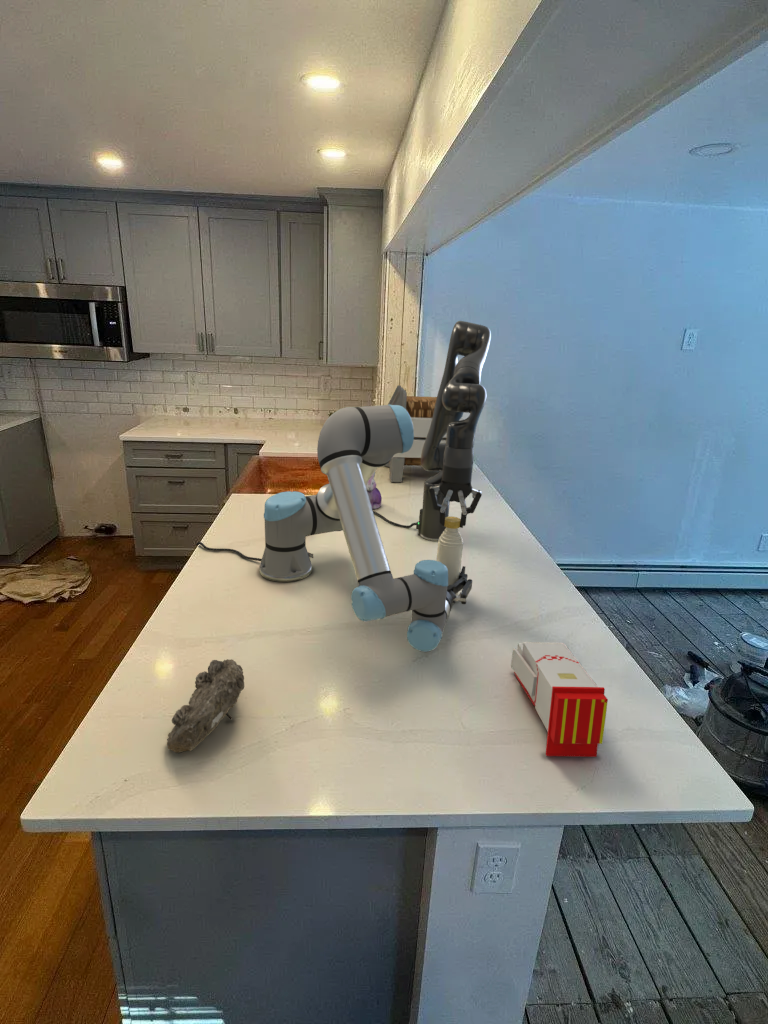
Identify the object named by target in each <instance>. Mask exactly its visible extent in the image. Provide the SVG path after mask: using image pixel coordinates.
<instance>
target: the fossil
mask: <svg viewBox="0 0 768 1024" xmlns="http://www.w3.org/2000/svg"><path fill="white" fill-rule="evenodd" d="M243 670H244V669H243V667H242V665H240V664H237V662H236V661H235V660H234V659H232V658H231V659H227V658H226V659H224V660H223V661H222V660H217V659H212V660H211V661H210V663H209V665H208V666H207V671H201V672H199V673H198V674H197V675H196V676H195V680H194V684H195V685H194V687H195V689H194V690H193V693H192V694H191V697H190V698H189V700H188V704H184V705H182V706H181V707H180V709H177V710H176V711H175V713H174V715H173V716H172V718H171V723H172V724H173V727H172V730H171V731H170V732H168V734H167V738H166V741H167V742H166V745H167V749H168V750H169V751H173V752H174V753H176V754H178V753H182V752H188V751H189V752H192V751H193V750H195V748H196V747H197V746H199V744H200V743H201V742H203V741H204V740H205V739H206V738H207V737H208V736H209V735H210V734H211V733H212V732H214V730H215V729H217V727H218V726H219V724H220V722H221V721H222V720H223V719H224V718H225V716H226V717H227V719H229V720H233V717H232V715H230V714H229V710H230V709H231V708H234V706H235V704H236V703H237V702H238V699H239V697H240V695H241V693H242V691H243V690H245V689H244V688H245V675H244V671H243Z"/></svg>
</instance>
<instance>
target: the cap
mask: <svg viewBox="0 0 768 1024" xmlns="http://www.w3.org/2000/svg"><path fill="white" fill-rule="evenodd" d="M460 523H461V517H457V516H448V517H446V518H445V524H444V526H445V527H447V528H451V529H457V528H458V529H459V528H460ZM460 529H461V528H460Z"/></svg>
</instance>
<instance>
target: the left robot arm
mask: <svg viewBox="0 0 768 1024" xmlns="http://www.w3.org/2000/svg"><path fill="white" fill-rule="evenodd" d="M413 440H414V429H413V423H412V420H411V417H410V415H409V413H408V412H407V410H406V409H405V408H404V407H402V406H399V405H390V404H381V405H368V406H367V405H365V406H346V407H343V408H339V409H338V410H336V411H334V412H333V413H332V414H330V416H328V417H327V419H326V420H325V422H324V423H323V425H322V427H321V429H320V432H319V435H318V440H317V448H316V452H317V460H318V465H319V467H320V472H321V473H322V474H324V475H326V477H327V480H328V483H326V484H324V485H323V486H321V487H320V488H319V489H318V491H317V493H316V494H312V495H305V494H304V493H303V492H301V491H297V490H295V491H294V490H293V491H290V490H289V491H282V492H277V493H275V494H273V495H271V496H270V497H268V498H267V499H266V501H265V502H264V510H263V511H264V512H263V519H264V520H263V521H264V543H265V545H264V546H265V547H264V551H263V554H262V556H261V558H258V557H253V556H247V555H246V554H245V555H244V553H242V552H240V551H238V550H236V549H233V548H213V547H208V546H207V545H205V544H204V543H203V542H202V541H198V542H196V543H195V546H199V545H200V547H202V548H203V549H205V550H208V551H212V552H232V553H236V554H237V555H238V556H240V557H241V558H243V559H245V560H249V561H257V562H259V575H260V576H261V577H263V578H264V579H265V580H269V581H272V582H277V583H290V582H296V581H300V580H303V579H305V578H307V577H309V576H310V575H311V574H312V571H313V564H312V560H311V558H312V559H314V553H311V552H309V551H308V549H307V546H306V545H307V543H306V540H307V537H310V536H314V535H321V534H326V533H328V534H329V533H332V532H343V535H344V538H345V542H346V545H347V549H348V553H349V557H350V559H351V563H352V566H353V570H354V573H355V576H356V580H357V584H358V586H357V587H354V588H353V589H352V592H351V596H350V599H351V608H352V611H353V613H354V615H355V616H356V617H357V619H359V621H361V622H371V621H372V622H373V621H376V620H383V619H385V618H389V617H392V616H395V615H399V614H402V613H406V612H411V617H410V618H411V619H410V623H409V624H408V627H407V632H406V638H407V639H406V640H407V641H408V643H409V645H410V646H411V647H412V648H413V649H415V650H416V651H419V652H425V653H427V652H431V651H433V650H435V649H436V648H437V647H438V646H439V644H440V642H441V641H442V639H443V634H444V630H445V627H446V624H447V622H448V619H449V617H450V613H451V611H452V608H453V604H455V603H456V602H460V604H461V605H466V604H467V598H468V596H469V595H470V592H471V591H472V589H473V579H471V578H469V579H468V573H466V566H464V565H462V566H461V571H460V575H459V580H458V581H456V582H455V583H454V584H452V585H449V586H448V569H447V567H446V566H445V565H444V564H442V563H441V562H439V561H437V560H436V559H435V560H434V559H422V560H420V561H418V562H416V564H415V565H414V568H413V574H408V575H404V576H400V577H395V578H394V576H393V574H392V570H391V567H390V563H389V561H388V557H387V554H386V550H385V547H384V544H383V541H382V537H381V533H380V530H379V527H378V524H377V520H376V517H375V514H374V513H373V511H374V509H372V506H371V503H370V500H369V496H368V493H367V490H366V486H365V485H366V484H367V482H368V481H369V479H370V478H371V477H372V475H373V474H374V472H375V473H376V471H377V470H378V469H379V468H382V467H386V466H385V465H386V464H388V463H389V461H390V460H391V459H392V457H393V456H394V455H395V454H397V453H401V454H402V453H404V452H407V451H409V450H410V449H411V447H412V445H413ZM456 593H458V596H456V595H455V594H456Z"/></svg>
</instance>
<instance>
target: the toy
mask: <svg viewBox="0 0 768 1024" xmlns="http://www.w3.org/2000/svg"><path fill="white" fill-rule="evenodd" d="M510 667H511V669H512V670H513V674H514V676H515V677H516V679H517V680H518V682H519V684H520V686H521V687H522V689H523V691H524V692H525V694H526V695H527V697H528V698H529V701H530V702H531V703H532V705H533V706H534V708H535V710H536V713H537V715H538V716H539V718H540V720H541V722H542V724H543V725H544V727H545V729H546V731H547V735H546V736H547V737H546V744H545V745H546V746H545V756H546V757H582V758H583V757H584V758H585V757H588V758H589V757H590V758H591V757H593V758H595V757H596V758H597V754H598V746H599V745H603V741H604V734H605V725H606V718H607V717H606V715H607V709H608V700H609V699H608V698H607V696H606V695H605V691H606V688H605V687H604V686H598V685H597V684H596V682H595V681H594V680H593V679H592V678H591V676H590V675H589V673H588V672H587V671H586V670H585V668H584V667H583V666H582V665H581V663H580V662H579V661H578V659H577V658H576V657H575V656H574V654H573V653H572V651H571V650H570V649H569V648H568V647H567V645H566V644H565V642H537V641H536V642H533V641H532V642H531V641H523V642H522V643H521V642H520V643H517V648H513V649H512V655H511V663H510Z"/></svg>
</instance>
